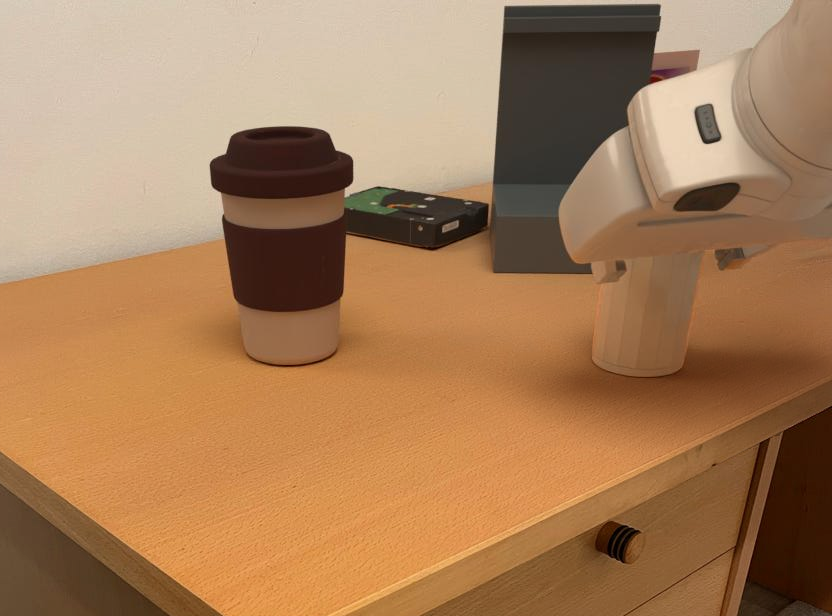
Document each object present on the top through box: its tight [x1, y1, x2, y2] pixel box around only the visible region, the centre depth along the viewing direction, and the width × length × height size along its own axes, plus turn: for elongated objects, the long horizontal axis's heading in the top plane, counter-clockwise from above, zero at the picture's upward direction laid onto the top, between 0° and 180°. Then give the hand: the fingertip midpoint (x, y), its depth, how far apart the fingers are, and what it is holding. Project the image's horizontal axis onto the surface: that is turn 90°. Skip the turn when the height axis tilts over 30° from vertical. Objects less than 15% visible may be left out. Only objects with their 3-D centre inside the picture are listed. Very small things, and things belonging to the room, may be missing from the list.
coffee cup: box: [209, 125, 354, 366], centre depth 70 cm, size 10×10×15 cm
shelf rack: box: [489, 3, 662, 274], centre depth 89 cm, size 14×14×20 cm
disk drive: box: [344, 185, 490, 248], centre depth 103 cm, size 10×3×15 cm
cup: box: [591, 251, 707, 378], centre depth 69 cm, size 7×7×10 cm
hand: (664, 267), depth 66 cm, fingers open, 8 cm apart
